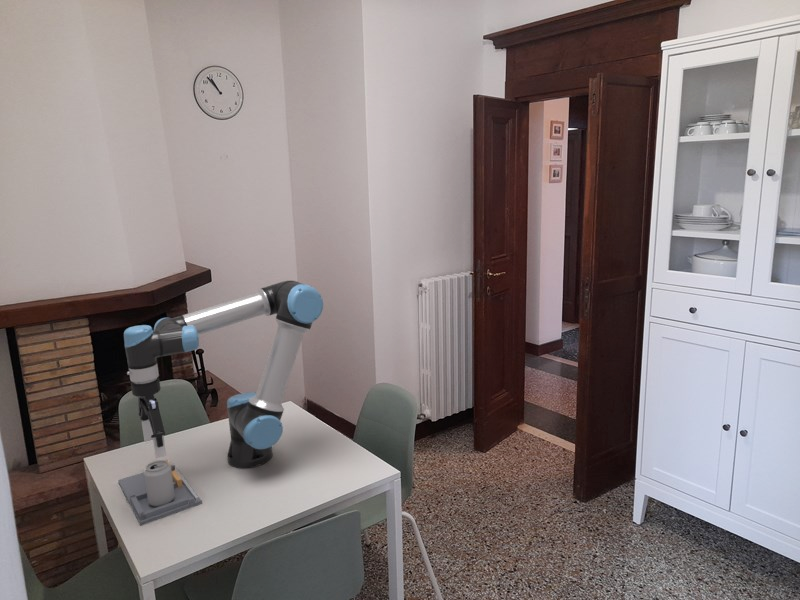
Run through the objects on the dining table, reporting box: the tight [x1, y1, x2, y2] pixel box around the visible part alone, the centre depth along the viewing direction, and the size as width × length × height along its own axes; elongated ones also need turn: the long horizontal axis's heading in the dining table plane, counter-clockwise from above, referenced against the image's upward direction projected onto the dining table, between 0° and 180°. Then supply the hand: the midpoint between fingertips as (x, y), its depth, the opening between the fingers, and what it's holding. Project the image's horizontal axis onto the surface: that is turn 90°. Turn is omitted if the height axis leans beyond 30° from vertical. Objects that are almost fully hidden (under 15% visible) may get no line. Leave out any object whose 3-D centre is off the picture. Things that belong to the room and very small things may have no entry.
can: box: [143, 459, 175, 507], centre depth 169 cm, size 8×8×12 cm
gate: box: [163, 459, 182, 487], centre depth 185 cm, size 17×2×3 cm, turn 36°
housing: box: [118, 461, 203, 527], centre depth 177 cm, size 30×17×2 cm, turn 36°
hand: (155, 448), depth 167 cm, fingers open, 13 cm apart
